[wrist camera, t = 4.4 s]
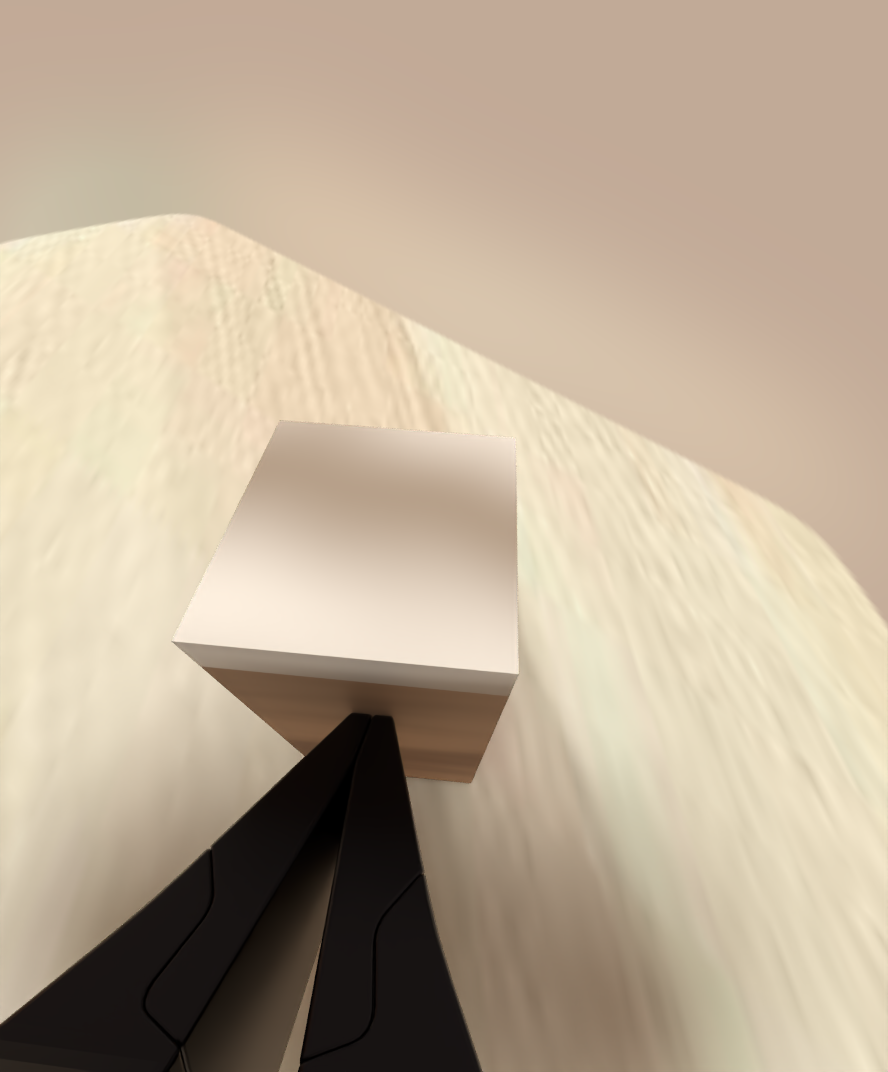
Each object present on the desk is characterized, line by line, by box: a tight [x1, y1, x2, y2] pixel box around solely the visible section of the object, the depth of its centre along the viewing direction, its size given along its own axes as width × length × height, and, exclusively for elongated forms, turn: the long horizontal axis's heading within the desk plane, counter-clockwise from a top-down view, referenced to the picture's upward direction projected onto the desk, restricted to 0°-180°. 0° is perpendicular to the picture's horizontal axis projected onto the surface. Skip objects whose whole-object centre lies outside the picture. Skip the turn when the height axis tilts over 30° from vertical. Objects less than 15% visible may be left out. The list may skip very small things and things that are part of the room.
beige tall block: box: [172, 420, 519, 783], centre depth 12 cm, size 5×5×10 cm
